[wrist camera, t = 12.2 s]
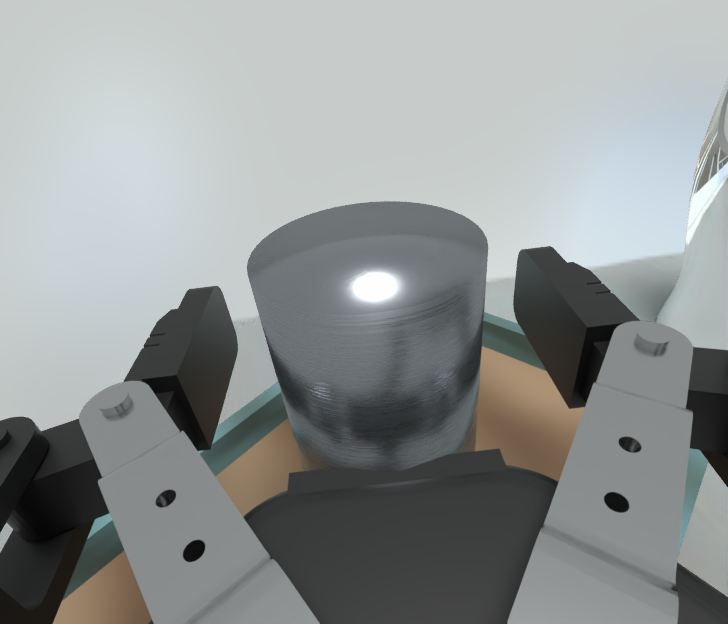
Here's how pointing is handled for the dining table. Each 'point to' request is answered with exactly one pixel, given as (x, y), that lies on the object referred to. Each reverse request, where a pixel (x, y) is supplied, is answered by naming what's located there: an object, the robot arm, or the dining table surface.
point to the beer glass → (705, 246)
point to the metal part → (375, 331)
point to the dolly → (280, 457)
